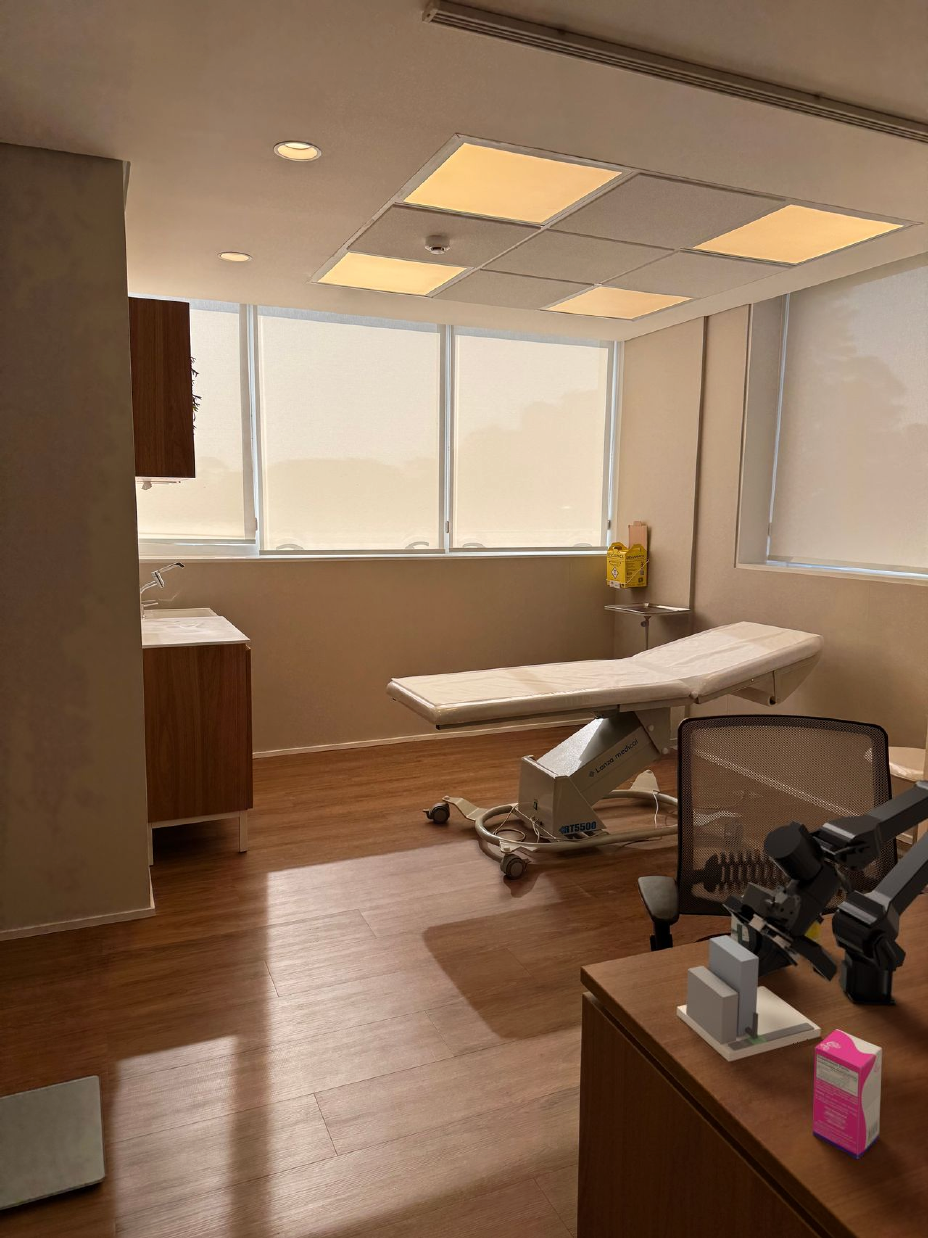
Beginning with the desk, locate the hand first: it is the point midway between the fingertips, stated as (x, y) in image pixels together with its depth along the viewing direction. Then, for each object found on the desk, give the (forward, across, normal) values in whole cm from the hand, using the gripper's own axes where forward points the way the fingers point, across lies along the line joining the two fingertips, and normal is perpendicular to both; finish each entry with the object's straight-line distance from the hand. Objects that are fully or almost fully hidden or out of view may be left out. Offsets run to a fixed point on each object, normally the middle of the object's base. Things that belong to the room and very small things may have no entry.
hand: (742, 981), depth 125 cm
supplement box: (+7, +23, +3) cm, 24 cm away
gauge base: (+4, 0, +6) cm, 7 cm away
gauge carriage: (+5, +1, +3) cm, 6 cm away
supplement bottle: (-13, -16, +24) cm, 31 cm away
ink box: (-4, -13, +15) cm, 20 cm away
